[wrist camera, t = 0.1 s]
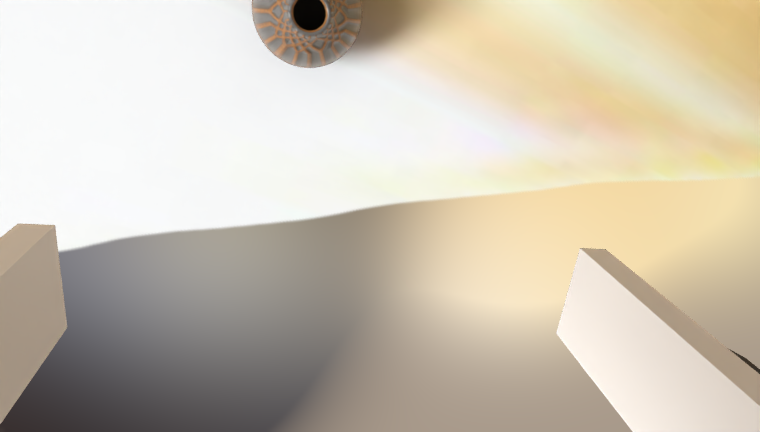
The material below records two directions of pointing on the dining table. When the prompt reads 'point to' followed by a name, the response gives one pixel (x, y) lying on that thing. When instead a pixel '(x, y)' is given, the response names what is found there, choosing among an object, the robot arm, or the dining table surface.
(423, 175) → the dining table surface
